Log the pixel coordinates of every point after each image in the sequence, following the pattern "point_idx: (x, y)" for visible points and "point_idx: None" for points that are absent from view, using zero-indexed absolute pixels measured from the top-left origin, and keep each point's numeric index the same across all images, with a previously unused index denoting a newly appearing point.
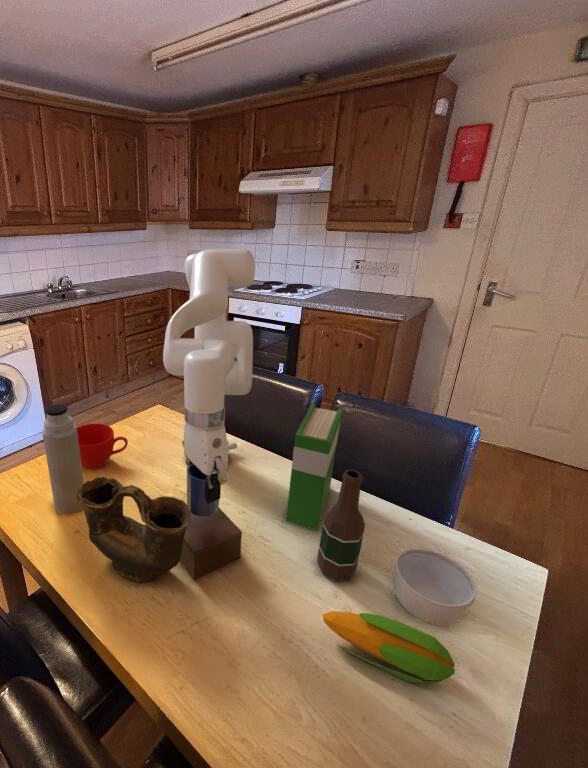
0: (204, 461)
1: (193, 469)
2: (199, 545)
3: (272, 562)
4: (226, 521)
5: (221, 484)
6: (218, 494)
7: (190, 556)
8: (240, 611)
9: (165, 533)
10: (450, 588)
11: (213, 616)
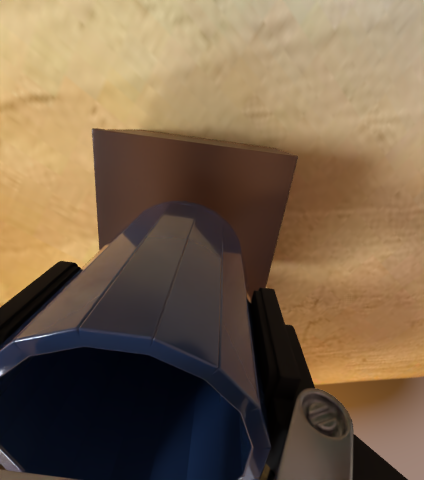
0: None
1: (36, 393)
2: (253, 284)
3: (340, 84)
4: (230, 165)
5: (372, 454)
6: (298, 347)
7: None
8: (359, 238)
9: (264, 469)
10: None
11: (329, 278)
